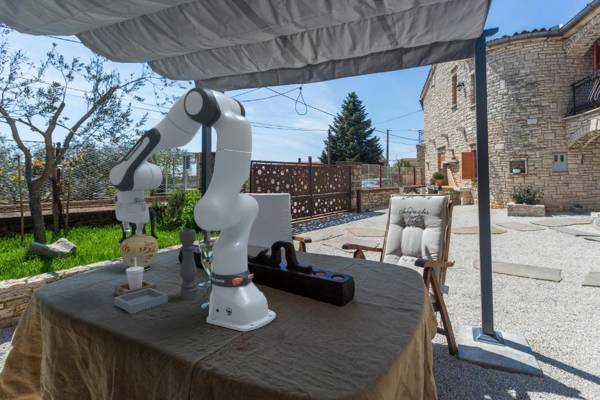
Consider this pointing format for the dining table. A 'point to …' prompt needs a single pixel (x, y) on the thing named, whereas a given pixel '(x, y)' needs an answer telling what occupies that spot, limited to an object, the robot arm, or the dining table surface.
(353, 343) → the dining table surface
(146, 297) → the tray
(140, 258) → the amphora
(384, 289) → the dining table surface
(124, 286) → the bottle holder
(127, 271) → the smoothie
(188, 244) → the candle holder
